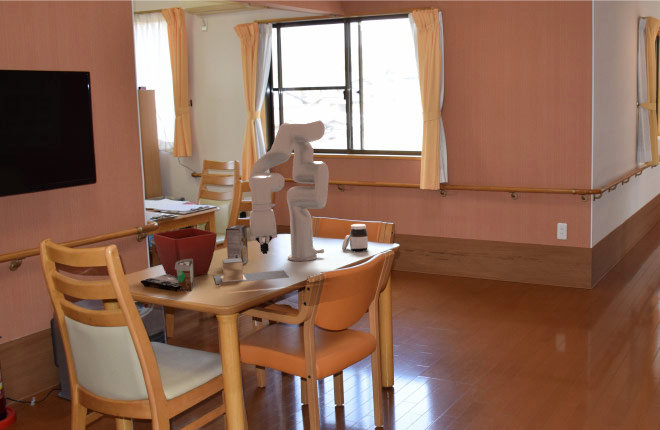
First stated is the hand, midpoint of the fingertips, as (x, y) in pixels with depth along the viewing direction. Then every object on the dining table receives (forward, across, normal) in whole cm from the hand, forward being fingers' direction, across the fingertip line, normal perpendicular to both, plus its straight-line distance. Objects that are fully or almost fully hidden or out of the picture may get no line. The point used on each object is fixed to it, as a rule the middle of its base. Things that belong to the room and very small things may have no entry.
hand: (264, 253), depth 290 cm
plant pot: (+9, +30, -14) cm, 35 cm away
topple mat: (+9, +6, +2) cm, 11 cm away
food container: (+8, +32, +10) cm, 35 cm away
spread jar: (+12, -46, -35) cm, 59 cm away
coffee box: (+10, +8, -26) cm, 29 cm away
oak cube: (+1, +13, +2) cm, 13 cm away
